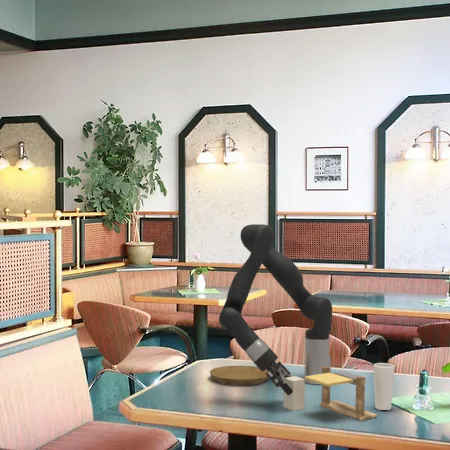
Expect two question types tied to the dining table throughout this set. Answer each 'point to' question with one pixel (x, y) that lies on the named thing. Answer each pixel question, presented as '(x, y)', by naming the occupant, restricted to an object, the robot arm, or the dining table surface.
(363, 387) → the frame
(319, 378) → the trapdoor
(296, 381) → the white square pillar
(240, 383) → the plant saucer
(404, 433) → the dining table surface
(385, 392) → the drinking glass
